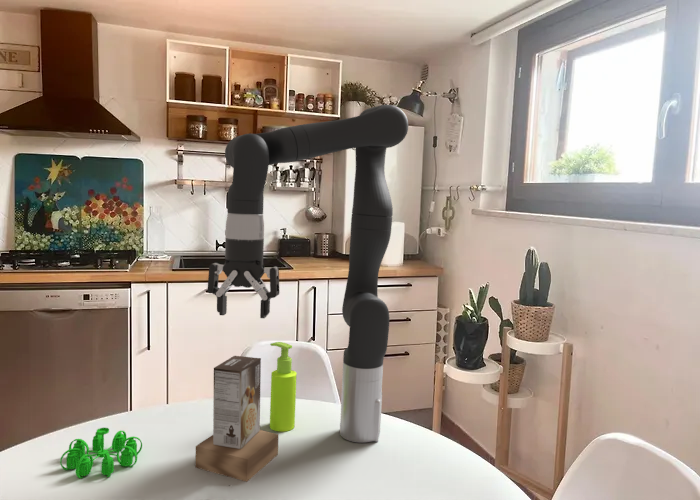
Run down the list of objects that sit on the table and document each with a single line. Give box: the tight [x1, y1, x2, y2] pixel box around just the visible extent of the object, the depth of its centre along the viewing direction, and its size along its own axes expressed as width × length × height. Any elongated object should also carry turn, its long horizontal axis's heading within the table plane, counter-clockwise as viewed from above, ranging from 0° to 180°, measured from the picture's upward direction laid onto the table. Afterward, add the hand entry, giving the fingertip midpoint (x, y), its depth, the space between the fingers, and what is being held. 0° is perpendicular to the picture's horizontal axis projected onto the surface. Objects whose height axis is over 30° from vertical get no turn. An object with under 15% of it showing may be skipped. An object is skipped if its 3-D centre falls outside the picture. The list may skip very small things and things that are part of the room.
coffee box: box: [212, 355, 262, 449], centre depth 110 cm, size 9×6×16 cm
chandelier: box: [59, 427, 143, 479], centre depth 107 cm, size 15×15×7 cm
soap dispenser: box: [269, 341, 297, 433], centre depth 126 cm, size 6×7×20 cm
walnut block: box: [195, 429, 280, 483], centre depth 110 cm, size 12×12×5 cm
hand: (242, 316), depth 108 cm, fingers open, 8 cm apart
